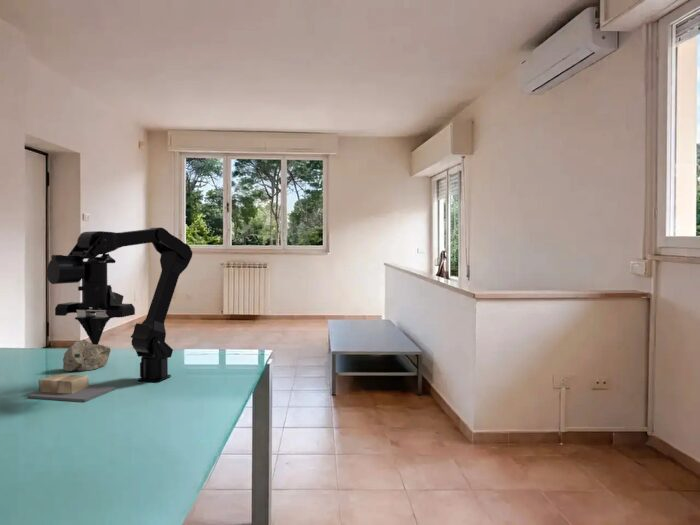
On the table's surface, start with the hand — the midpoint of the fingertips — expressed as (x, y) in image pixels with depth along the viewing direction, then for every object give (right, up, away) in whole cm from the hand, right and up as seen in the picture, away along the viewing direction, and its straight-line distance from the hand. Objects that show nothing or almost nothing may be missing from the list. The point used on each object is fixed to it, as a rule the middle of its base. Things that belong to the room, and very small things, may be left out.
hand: (95, 344), depth 128 cm
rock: (-16, -12, +27) cm, 33 cm away
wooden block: (-4, -10, +1) cm, 11 cm away
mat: (-6, -13, +1) cm, 14 cm away
